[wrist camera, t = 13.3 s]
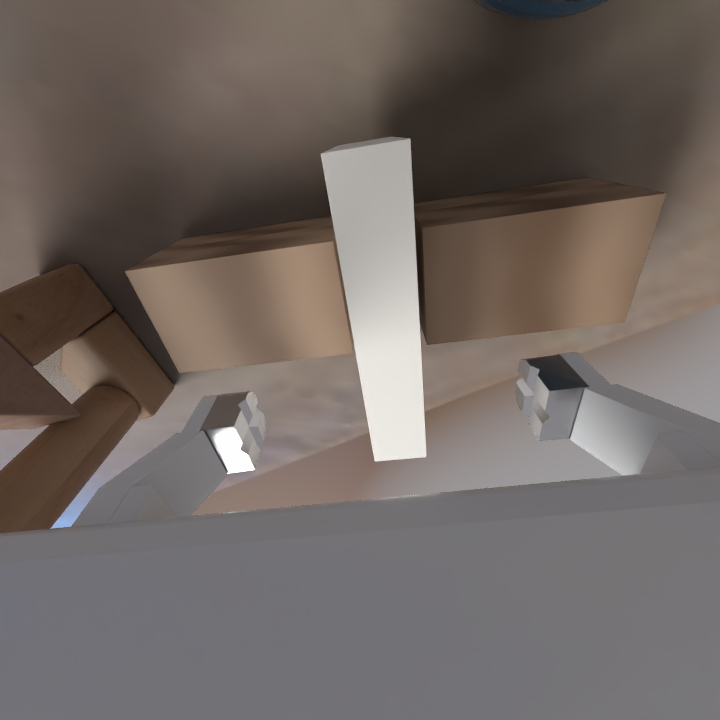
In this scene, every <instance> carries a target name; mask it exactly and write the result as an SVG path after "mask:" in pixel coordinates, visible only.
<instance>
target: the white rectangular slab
mask: <svg viewBox="0 0 720 720" xmlns="http://www.w3.org/2000/svg"><path fill="white" fill-rule="evenodd" d="M321 159H322V164H323V170H324V176H325V181H326V187H327V193H328V198H329V204H330V210H331V215H332V221H333V227H334V232H335V238H336V244H337V250H338V255H339V261H340V267H341V272H342V278H343V284H344V289H345V295H346V301H347V306H348V312H349V318H350V323H351V329H352V335H353V340H354V346H355V352H356V357H357V363H358V369H359V374H360V380H361V386H362V391H363V397H364V403H365V408H366V414H367V420H368V425H369V431H370V437H371V442H372V448H373V454H374V459H375V461H384V460H396V459H407V458H419V457H426V442H425V421H424V401H423V381H422V361H421V341H420V321H419V301H418V281H417V261H416V241H415V221H414V201H413V181H412V162H411V142H410V139H409V138H400V137H385V138H379V139H373V140H367V141H361V142H356V143H350V144H344V145H338V146H336V147H334V148H332V149H330V150H327V151H325V152H323V153H321Z"/></svg>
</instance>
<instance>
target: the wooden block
mask: <svg viewBox="0 0 720 720" xmlns="http://www.w3.org/2000/svg"><path fill="white" fill-rule="evenodd" d="M112 310H113V306H112V304H111V303H110V302H109V301H108V299H107V298H106V297H105V295H104V294H103V293H102V292H101V290H100V289H99V288H98V286H97V285H96V284H95V283H94V281H93V280H92V279H91V277H90V276H89V275H88V274H87V272H86V271H85V270H84V269H83V267H82V266H81V265H79V264H70V265H67V266H64V267H62V268H59V269H56V270H53V271H51V272H48V273H45V274H43V275H40V276H37V277H35V278H32V279H30V280H28V281H26V282H23V283H21V284H19V285H16V286H14V287H12V288H10V289H7V290H5V291H3V292H0V430H7V429H35V428H39V427H43V426H46V425H49V426H48V427H47V428H46V429H45V430H44V431H43V432H42V433H41V434H39V435H38V436H37V437H36V438H35V439H34V440H33V441H32V442H31V443H30V444H29V445H28V446H26V447H25V448H24V449H23V450H22V451H21V452H20V453H19V454H18V455H17V456H16V457H15V458H14V459H12V460H11V461H10V462H9V463H8V464H7V465H6V466H5V467H4V468H3V469H2V470H1V471H0V533H10V532H21V531H32V530H43V529H50V528H51V527H52V526H53V524H54V523H55V522H56V521H57V519H58V518H59V517H60V516H61V514H62V513H63V512H64V511H65V509H66V508H67V507H68V506H69V504H70V503H71V502H72V501H73V499H74V498H75V497H76V495H77V494H78V493H79V492H80V490H81V489H82V488H83V487H84V485H85V484H86V483H87V482H88V480H89V479H90V478H91V477H92V475H93V474H94V473H95V472H96V470H97V469H98V468H99V467H100V465H101V464H102V463H103V462H104V460H105V459H106V458H107V456H108V455H109V454H110V453H111V451H112V450H113V449H114V448H115V446H116V445H117V444H118V443H119V441H120V440H121V439H122V438H123V436H124V435H125V434H126V433H127V431H128V430H129V429H130V428H131V426H132V425H133V424H134V422H135V421H136V420H140V419H144V418H148V417H151V416H153V415H154V414H155V413H156V412H157V411H158V409H159V408H160V407H161V405H162V404H163V403H164V401H165V400H166V399H167V397H168V396H169V394H170V393H171V392H172V390H173V389H174V385H173V383H172V382H171V381H170V379H169V378H168V377H167V376H166V374H165V373H164V372H163V371H162V369H161V368H160V367H159V365H158V364H157V363H156V362H155V360H154V359H153V358H152V356H151V355H150V354H149V353H148V351H147V350H146V349H145V347H144V346H143V345H142V344H141V342H140V341H139V340H138V338H137V337H136V336H135V335H134V333H133V332H132V331H131V330H130V328H129V327H128V326H127V324H126V323H125V322H124V321H123V319H122V318H121V317H120V315H119V314H118V313H116V312H111V311H112ZM60 348H61V365H60V369H61V372H62V373H63V374H64V375H65V376H66V377H67V378H68V379H69V380H70V381H71V382H72V383H73V384H74V385H75V386H76V387H77V388H78V389H79V390H80V391H81V392H82V393H83V395H82V396H80V397H79V398H78V399H77V400H76V401H75V402H74V403H73V404H71V403H70V402H68V401H67V400H66V399H65V398H64V397H63V396H62V395H61V394H60V393H59V392H58V391H57V390H56V389H55V388H54V387H53V386H52V385H51V384H50V383H49V382H48V381H47V380H46V379H45V378H44V377H43V376H42V375H41V374H40V373H39V372H38V371H37V370H36V369H34V368H33V367H32V366H35V365H37V364H38V363H40V362H41V361H43V360H44V359H45V358H47V357H48V356H50V355H51V354H52V353H54V352H55V351H57V350H58V349H60Z"/></svg>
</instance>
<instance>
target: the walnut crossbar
mask: <svg viewBox="0 0 720 720" xmlns="http://www.w3.org/2000/svg"><path fill="white" fill-rule="evenodd" d="M666 194H667V193H664V192H659V191H653V190H648V189H643V188H638V187H633V186H628V185H623V184H618V183H613V182H608V181H603V180H597V179H592V178H580V179H574V180H567V181H560V182H554V183H547V184H540V185H534V186H527V187H520V188H514V189H507V190H501V191H494V192H487V193H481V194H474V195H467V196H461V197H454V198H447V199H441V200H434V201H427V202H421V203H414V221H415V241H416V261H417V281H418V301H419V320H420V323H421V326H422V330H423V333H424V336H425V340H426V343H427V345H430V344H438V343H447V342H456V341H465V340H473V339H482V338H491V337H499V336H508V335H517V334H526V333H534V332H543V331H552V330H560V329H569V328H578V327H587V326H595V325H604V324H613V323H622V322H625V320H626V317H627V314H628V311H629V308H630V305H631V302H632V299H633V296H634V293H635V289H636V286H637V283H638V280H639V277H640V274H641V271H642V268H643V265H644V262H645V259H646V255H647V252H648V249H649V246H650V243H651V240H652V237H653V234H654V231H655V228H656V225H657V222H658V218H659V215H660V212H661V209H662V206H663V203H664V200H665V197H666ZM125 273H126V275H127V277H128V278H129V280H130V282H131V284H132V286H133V288H134V290H135V291H136V293H137V295H138V297H139V299H140V301H141V303H142V305H143V306H144V308H145V310H146V312H147V314H148V316H149V318H150V319H151V321H152V323H153V325H154V327H155V329H156V331H157V332H158V334H159V336H160V338H161V340H162V342H163V344H164V345H165V347H166V349H167V351H168V353H169V355H170V357H171V358H172V360H173V362H174V364H175V366H176V368H177V370H178V372H179V373H185V372H194V371H203V370H212V369H220V368H229V367H238V366H246V365H255V364H264V363H273V362H281V361H290V360H299V359H307V358H316V357H325V356H334V355H342V354H351V353H353V343H354V340H353V335H352V329H351V323H350V318H349V312H348V306H347V301H346V295H345V289H344V284H343V278H342V272H341V267H340V261H339V255H338V250H337V244H336V238H335V232H334V227H333V221H332V216H328V217H321V218H315V219H308V220H301V221H295V222H288V223H281V224H275V225H268V226H261V227H255V228H248V229H241V230H235V231H228V232H222V233H215V234H208V235H202V236H195V237H188V238H182V239H180V240H178V241H176V242H174V243H173V244H171V245H169V246H168V247H166V248H164V249H162V250H161V251H159V252H157V253H155V254H154V255H152V256H150V257H148V258H147V259H145V260H143V261H141V262H140V263H138V264H136V265H134V266H133V267H131V268H129V269H128V270H126V271H125Z"/></svg>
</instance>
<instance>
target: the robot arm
mask: <svg viewBox="0 0 720 720" xmlns="http://www.w3.org/2000/svg"><path fill="white" fill-rule="evenodd" d="M518 372H519V373H520V375H521V376H522V377H521V378H520V379H519V380H518V382H517V383H516V390H515V393H516V400H517V403H518V406H519V408H520V410H521V412H522V413H523V414H525V415H526V416H528V417H530V419H529V425H530V427H531V429H532V430H533V432H534V433H535V435H536V437H537V439H538V440H539V441H543V440H556V439H568V438H570V440H571V441H573V442H574V443H576V444H577V445H578V446H580V447H582V448H583V449H584V450H586V451H587V452H589V453H590V454H592V455H593V456H595V457H596V458H598V459H599V460H601V461H602V462H604V463H605V464H607V465H608V466H610V467H611V468H612V469H614V470H615V471H617V472H618V473H620V474H621V475H623V476H613V477H603V478H592V479H582V480H571V481H561V482H550V483H539V484H529V485H518V486H507V487H497V488H484V489H474V490H463V491H452V492H441V493H430V494H419V495H409V496H398V497H387V498H376V499H366V500H355V501H345V502H334V503H323V504H312V505H301V506H291V507H280V508H270V509H258V510H248V511H237V512H226V513H215V514H205V515H195V516H191V515H192V514H193V513H194V512H195V511H196V510H197V509H198V507H199V506H200V505H201V504H202V503H203V502H204V501H205V500H206V498H207V497H208V496H209V495H210V494H211V493H212V492H213V491H214V490H215V488H216V487H217V486H218V485H219V484H220V483H221V482H222V481H223V480H224V478H225V477H226V476H227V475H228V474H227V473H233V472H241V471H249V470H255V468H256V464H257V461H258V458H259V455H260V451H259V448H258V446H259V445H260V444H261V443H262V442H263V441H264V438H265V434H266V423H265V418H264V415H263V413H262V411H260V410H259V409H257V408H256V405H257V403H258V400H257V398H256V396H255V394H254V393H253V392H251V391H250V392H239V393H229V394H221V395H211V396H205V397H203V398H202V399H201V400H200V402H199V404H198V406H197V407H196V409H195V411H194V412H193V414H192V416H191V417H190V419H189V421H188V422H187V424H186V426H185V427H184V429H183V431H182V432H181V433H176V434H175V435H173V436H172V437H171V438H169V439H168V440H166V441H165V442H164V443H162V444H161V445H159V446H158V447H157V448H155V449H154V450H152V451H151V452H150V453H148V454H147V455H145V456H144V457H143V458H141V459H140V460H138V461H137V462H135V463H134V464H133V465H131V466H130V467H128V468H127V469H126V470H124V471H123V472H121V473H120V474H119V475H117V476H116V477H114V478H113V479H112V480H110V481H109V482H107V483H106V484H105V485H103V486H102V487H100V488H99V489H98V491H97V492H96V493H95V495H94V496H93V497H92V499H91V500H90V502H89V503H88V504H87V506H86V507H85V508H84V510H83V511H82V512H81V514H80V515H79V517H78V518H77V519H76V521H75V522H74V523H73V525H72V526H71V527H64V528H54V529H43V530H32V531H21V532H10V533H0V720H720V423H718V422H716V421H713V420H710V419H708V418H705V417H702V416H700V415H697V414H695V413H692V412H689V411H687V410H684V409H681V408H679V407H676V406H673V405H670V404H668V403H665V402H663V401H660V400H657V399H655V398H652V397H650V396H647V395H644V394H642V393H639V392H636V391H634V390H631V389H628V388H626V387H623V386H620V385H618V384H614V385H611V384H610V383H609V382H608V381H607V380H606V379H605V378H604V377H603V376H602V375H601V374H600V373H599V372H597V370H595V369H594V367H593V366H591V365H590V364H589V363H588V362H587V361H586V360H585V359H584V358H583V357H582V356H581V355H580V354H579V353H576V352H570V353H563V354H557V355H553V356H545V357H537V358H529V359H521V361H520V363H519V367H518Z"/></svg>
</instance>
